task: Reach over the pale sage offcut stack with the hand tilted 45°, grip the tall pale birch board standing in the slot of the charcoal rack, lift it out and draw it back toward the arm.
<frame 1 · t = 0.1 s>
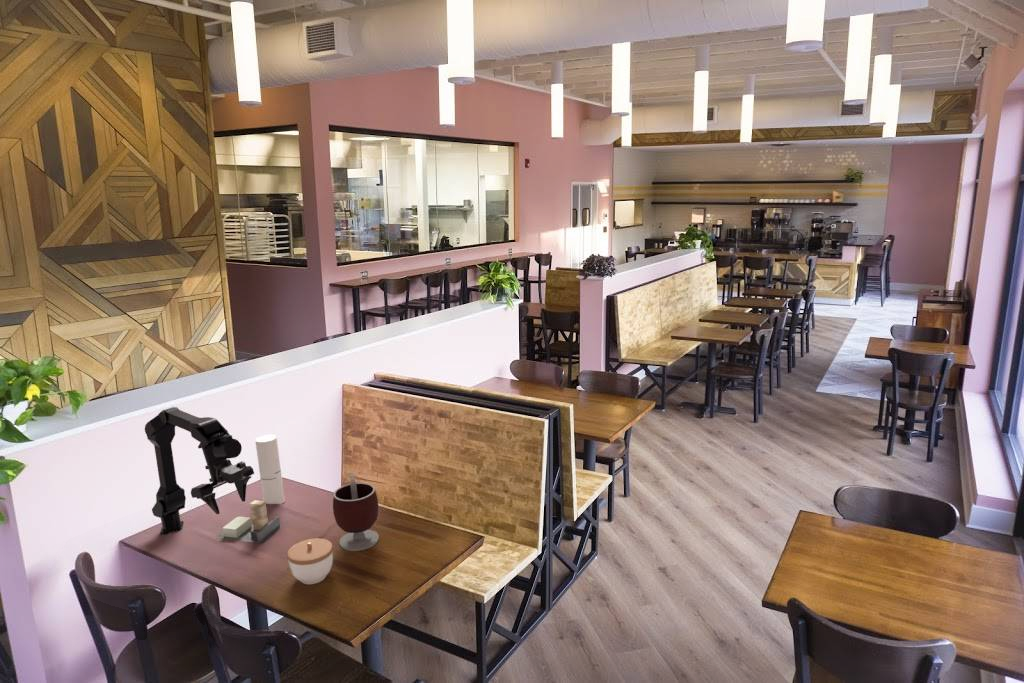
hand: (231, 507, 210), 15 cm above the table, tool pointing down, fingers open, 9 cm apart
lidded bowl: (313, 578, 198), on the table
mate gourd: (359, 540, 218), on the table
offcut upper: (237, 526, 224), point 3 cm above the table, touching offcut lower
offcut lower: (238, 531, 224), point 1 cm above the table, touching offcut upper, rack
cylindrical container: (274, 503, 247), on the table
rack: (249, 536, 224), on the table
birch board: (261, 533, 222), point 1 cm above the table, touching rack
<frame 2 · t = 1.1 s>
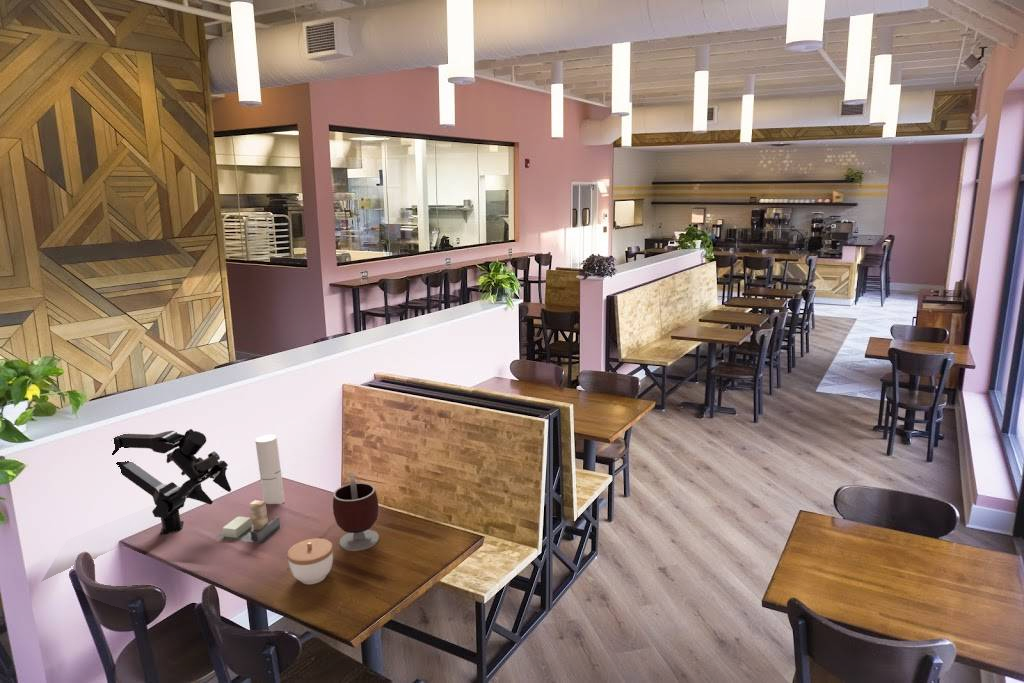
hand: (221, 497, 223), 13 cm above the table, tool tilted 45°, fingers open, 9 cm apart
nothing on the table moved.
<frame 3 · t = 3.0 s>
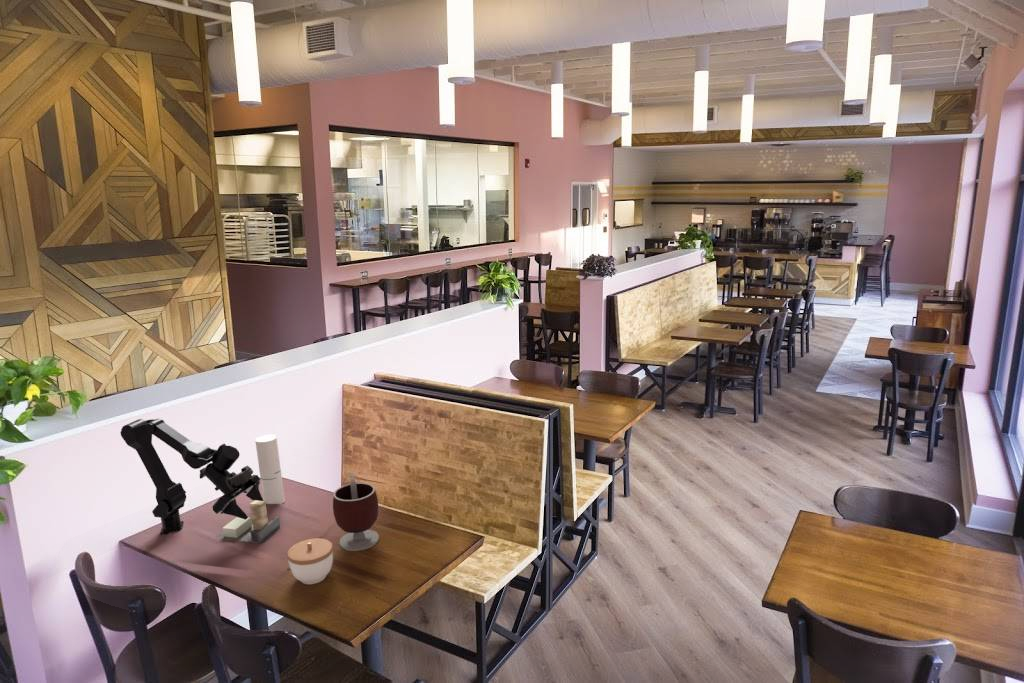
hand: (255, 511, 221), 9 cm above the table, tool tilted 45°, fingers open, 9 cm apart
nothing on the table moved.
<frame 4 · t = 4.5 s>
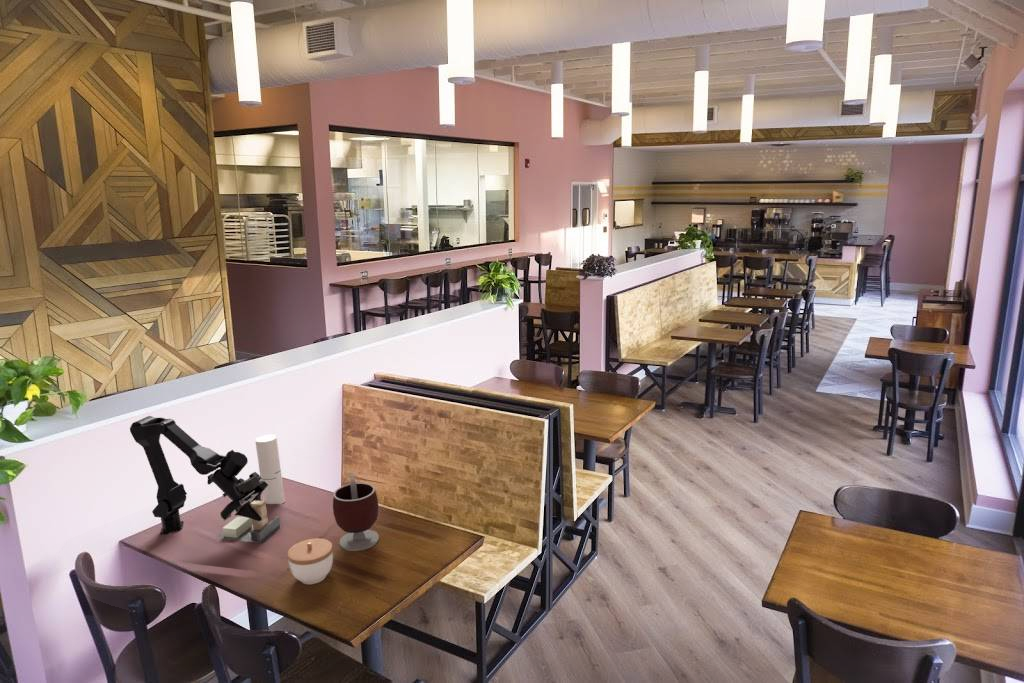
hand: (263, 518, 220), 7 cm above the table, tool tilted 45°, fingers closed on birch board, 2 cm apart
birch board: (261, 533, 222), point 2 cm above the table, touching gripper, rack
everything else where it was.
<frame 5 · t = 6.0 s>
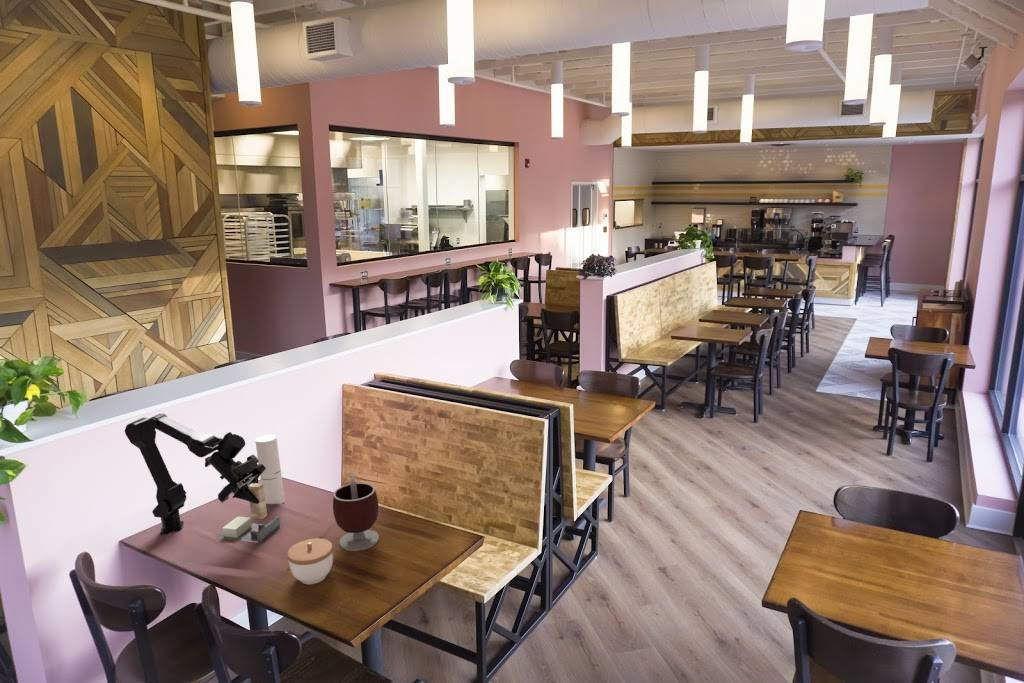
hand: (261, 500, 219), 13 cm above the table, tool tilted 45°, fingers closed on birch board, 2 cm apart
birch board: (259, 516, 221), point 8 cm above the table, touching gripper
everything else where it was.
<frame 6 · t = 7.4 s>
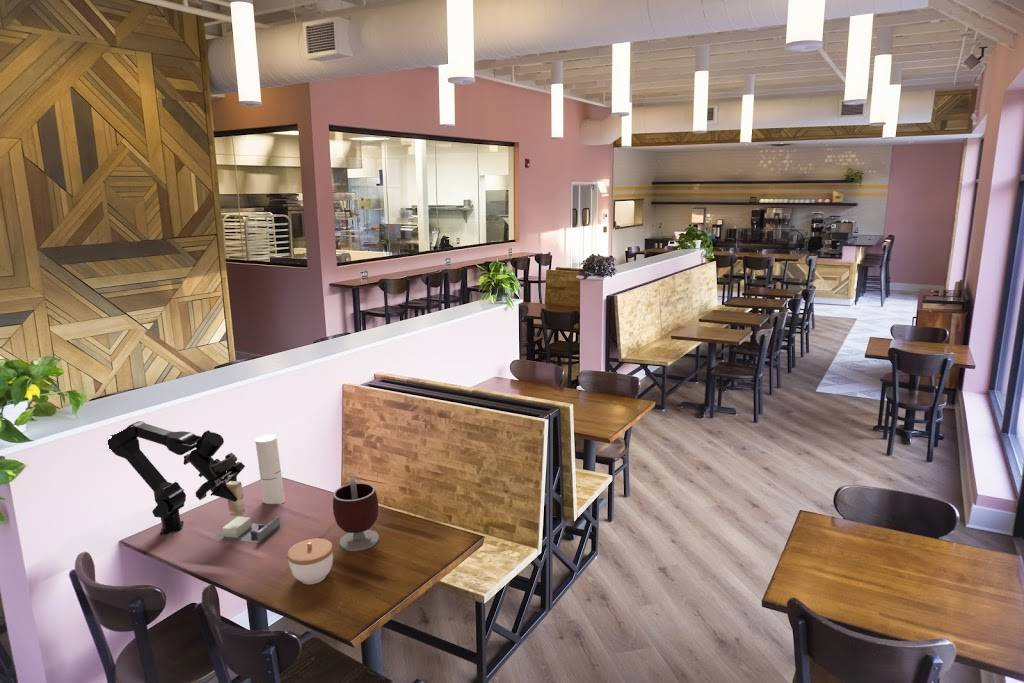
hand: (239, 498, 221), 13 cm above the table, tool tilted 45°, fingers closed on birch board, 2 cm apart
birch board: (237, 514, 223), point 8 cm above the table, touching gripper
everything else where it was.
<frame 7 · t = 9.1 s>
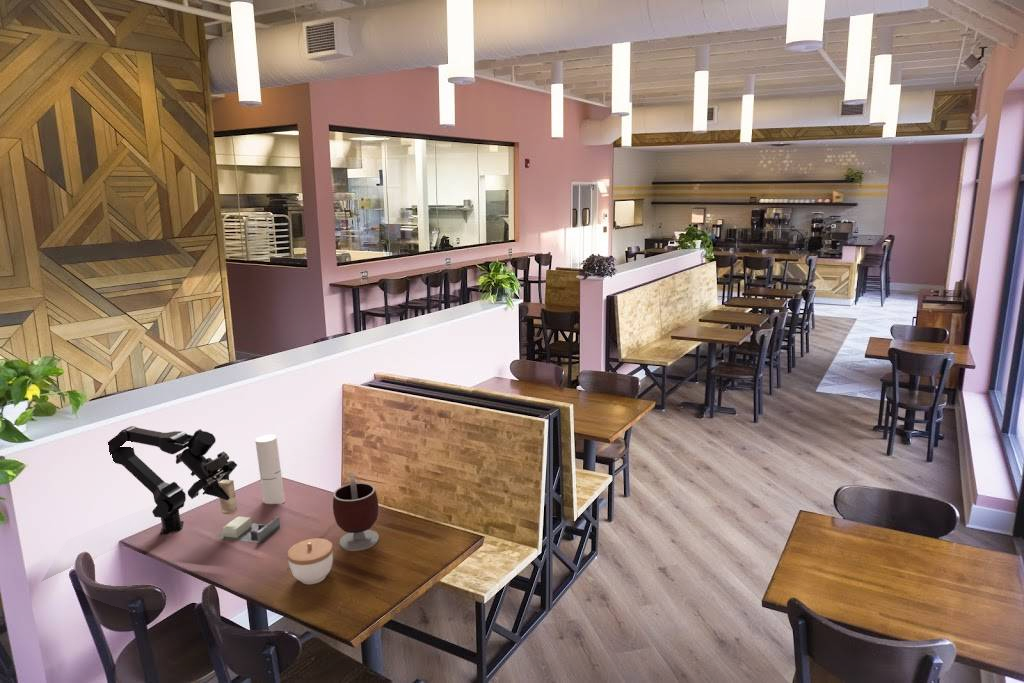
hand: (231, 497, 222), 14 cm above the table, tool tilted 45°, fingers closed on birch board, 2 cm apart
birch board: (230, 512, 223), point 8 cm above the table, touching gripper
everything else where it was.
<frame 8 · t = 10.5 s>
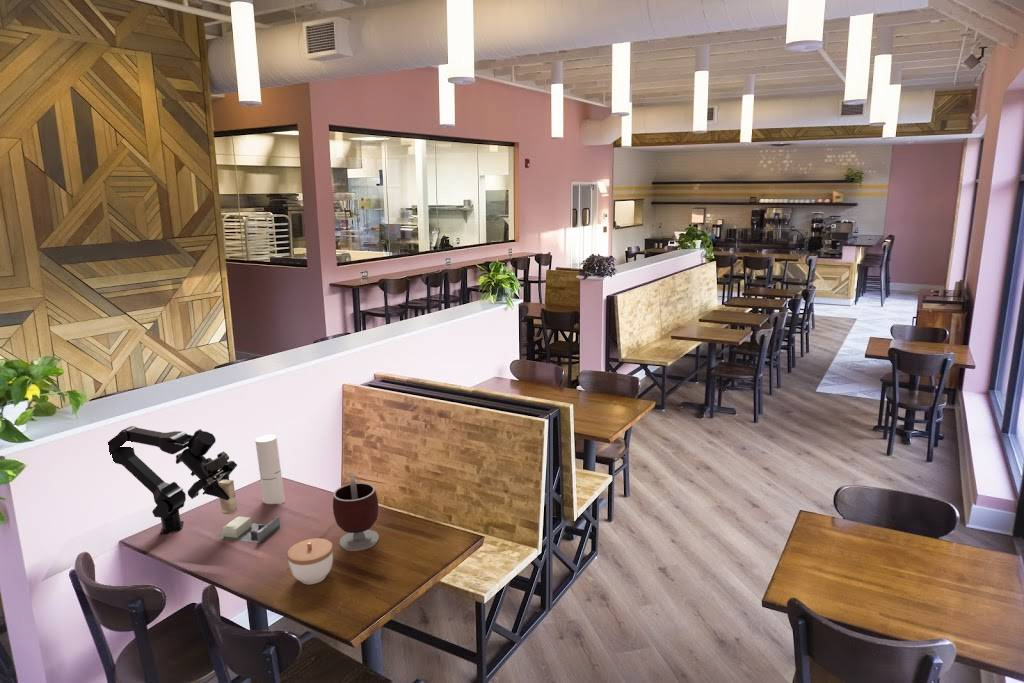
hand: (231, 497, 222), 14 cm above the table, tool tilted 45°, fingers closed on birch board, 2 cm apart
birch board: (230, 512, 223), point 8 cm above the table, touching gripper
everything else where it was.
at the end: the gripper is holding birch board; birch board point 8.0 cm above the table; offcut upper moved 0.0 cm from its start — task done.
